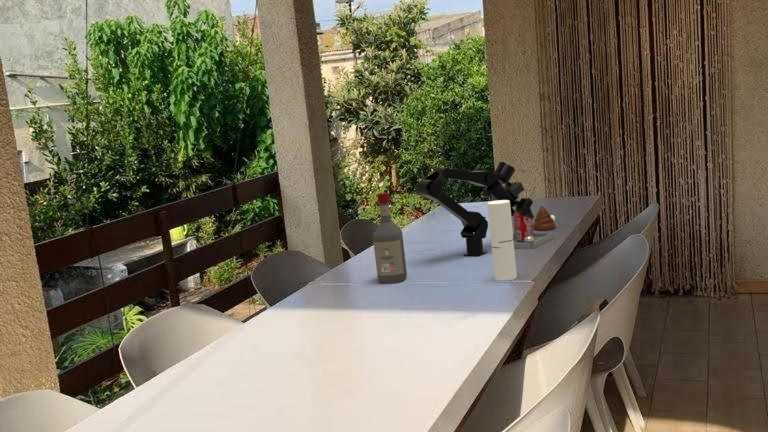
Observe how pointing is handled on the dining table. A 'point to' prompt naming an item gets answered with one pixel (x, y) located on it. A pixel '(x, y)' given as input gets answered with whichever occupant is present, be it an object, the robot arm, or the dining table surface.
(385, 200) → the liquor
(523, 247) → the gray tray
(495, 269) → the cylindrical container
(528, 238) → the steel mixing ball
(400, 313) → the dining table surface
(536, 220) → the poop emoji
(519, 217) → the soda can
